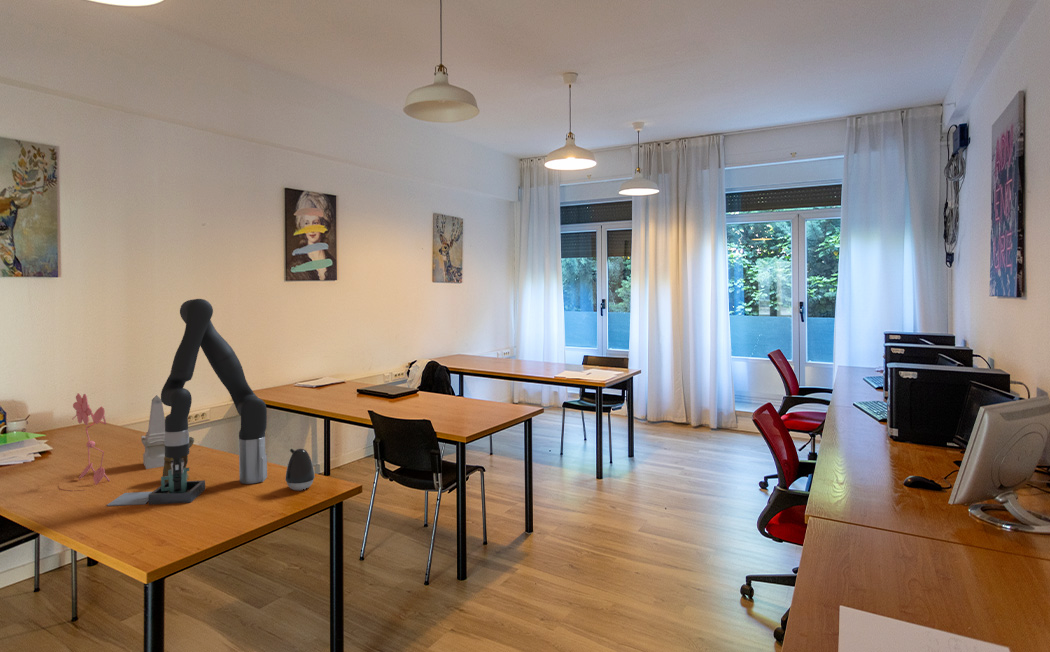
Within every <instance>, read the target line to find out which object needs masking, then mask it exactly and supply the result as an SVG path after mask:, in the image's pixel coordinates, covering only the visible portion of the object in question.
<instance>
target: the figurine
mask: <svg viewBox="0 0 1050 652" xmlns="http://www.w3.org/2000/svg"><path fill="white" fill-rule="evenodd" d="M75 400H76V401H75V402H74V403H73V404H72V408H73V409H74V411H75V415H74V416H73V417H72V420H74V419H75V418H77V422H78V424H79V425H80V424H82V422H83V423H84V425H85V426H86V427H85V429H84V430H85V433H86V437H87V440H88V441H87V442H86V447H87V452H88V453H87V456H88V458H87V459H88V465H87V466H86V467H85V468H84V469H83V470H82V472H81V473H80V475H79V477H78V480H81V479H82V478H83V477H85V476H86V474H87V473H88V472H89V471H90V469H91V470H92V473H93V482H94V485H98V484H99V483H100V482H101V481H102V480H103V478H105V479H106V480H107V482H110V479H109V477H108V476H107V474H106V473H105V472H106V471H105V468H104V467H103V466H102V465H103V459H104V453H105V451H103V450H101V449H100V448H98V447H95V446H96V442H95V441H94V440H90V436H89V431H88V428H90V427H92V426H93V425H95V424H96V425H98V424H99V423H101V424H103V425H106V424H107V422H106V421H107V420H106V417H105V412H106V411H105V408H103V407H104V406H102V405H101V406H99V408H98V409H96V410H95V412H94V413H93V410H92V408H90V404H89V403H88V402H89V401H88V396H87V394H86V393H83V395H82V394H80V393H76V395H75ZM89 416H91V419H92V421H93V423H91V424H89V422H90V419H89ZM101 420H102V421H101ZM92 448H93V449H95V450H98V451H99V452H101V453H102V456H101V461H100V465H99V466H100V467H98V468H97V469H96V470H95V469H94V468H93V462H91V461H90V449H92ZM89 474H91V472H89ZM61 490H62V491H64V489H62V488H59V491H61ZM66 490H67V489H66ZM67 491H68V492H72V490H69V489H68V490H67ZM67 491H66V492H67ZM79 491H84V489H82V490H80V489H79V490H75V492H79Z"/></svg>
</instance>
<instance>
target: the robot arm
mask: <svg viewBox="0 0 1050 652" xmlns="http://www.w3.org/2000/svg"><path fill="white" fill-rule="evenodd" d="M213 313H214V308H213V306H212V304H211V303H210V302H209V301H208V300H206V299H204V298H203V299H202V298H195V299H188V300H186V301H185V302H183V303H182V304H181V305H180V308H179V315H180V317H181V320H182V321H183V323H185V329H184V334H183V335H182V336H183V337H182V339H181V341H180V343H179V346H178V347H177V350H176V352H175V354H174V358H173V360H172V365H171V370H170V374H169V375H168V377H167V379H166V381H165V383H164V385H163V387H162V389H161V392H160V399H161V401H162V405H163V404H164V405H165V406H166V407H170V411H169V412H170V413H169V414H167V415H166V416H165V437H164V442H165V457H167V458H173V460H172V461H171V468H172V475H173V482H174V492H178V491H181V480H182V478H181V475H182V474H183V466H184V459H182V457H183V456H187V455H188V456H189V454H190V448H189V437H190V432H189V419H188V418H189V416H190V415H189V414H190V412H191V406H192V401H193V400H192V399H193V398H192V393H191V392H190V391H189V389H187V388H185V384H186V383H187V382H189V381H191V380H192V379H193V376H194V371H195V369H196V363H197V359H198V355H199V351H200V348H201V350H202V352H203V354H204V356H205V357H206V359H207V361H208V363H209V364H210V367H212V370H213V372H214V373H215V375H216V376H217V378H218V379H219V380H220V382H221V384H222V385H223V386H224V387H225V389H226V390H227V392H228V393H229V395H230V397H231V399H232V401H233V404H234V406H235V409H236V411H237V414H238V415H239V416H240V429H239V432H238V459H239V462H238V463H239V469H238V470H239V472H238V473H239V476H238V477H239V483H240V484H242V485H243V484H244V485H245V484H246V485H250V484H251V485H252V484H258V483H263V482H264V481H265V480H266V479H267V478H268V455H267V453H266V431H267V419H268V418H267V417H268V415H267V412H268V410H267V405H266V402H265V401H264V400H263V399H262V398H259V397H258V395H256V393H255V392H254V391H253V389H252V388H251V387H250V385H249V383H248V381H247V378H246V376H245V373H244V369H243V366H242V364H241V361H240V359H239V358H238V356H237V354H236V352H235V351H234V349H233V348H232V347H231V345H230V344H229V343H228V342H227V340H225V339H224V338H223V336H222V335H221V334H220V333H219V332H218V331H217V329H216V327H215V326H214V324H213V322H212V319H211V318H212V317H213ZM178 474H179V475H180V477H175V475H178Z"/></svg>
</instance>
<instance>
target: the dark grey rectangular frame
mask: <svg viewBox="0 0 1050 652" xmlns="http://www.w3.org/2000/svg"><path fill="white" fill-rule="evenodd" d="M165 487H169V482H165ZM205 490H206V480H205V479H204V480H203V479H202V480H187V492H173V493H169V490H168V491H161V485H160V486H158V487H157V488H156V489H153V491H151V492H152V493H150V494H149V495H148V497H149V502H148V505H153V506H154V505H167V504H171V505H172V504H187V503H189V504H190V503H192V502H194V501H195V499H197V498H198V497H199V496H200V495H201V494H202V493H203V492H204V491H205Z"/></svg>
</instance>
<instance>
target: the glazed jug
mask: <svg viewBox="0 0 1050 652" xmlns="http://www.w3.org/2000/svg"><path fill="white" fill-rule="evenodd" d="M189 471H190V467H186V468H185V467H183V474H182V475H181V478H182V480H181V491H178V492H188V491H187V481H188V479H187V473H188V472H189ZM175 477H180V475H179V474H178V475H175ZM165 480H169V487H165ZM160 486H161V491H168V490H169V492H168V493H173V492H174V482H173V475H172V469H170V470H168V476H164V477H162V476H161V477H160Z"/></svg>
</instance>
